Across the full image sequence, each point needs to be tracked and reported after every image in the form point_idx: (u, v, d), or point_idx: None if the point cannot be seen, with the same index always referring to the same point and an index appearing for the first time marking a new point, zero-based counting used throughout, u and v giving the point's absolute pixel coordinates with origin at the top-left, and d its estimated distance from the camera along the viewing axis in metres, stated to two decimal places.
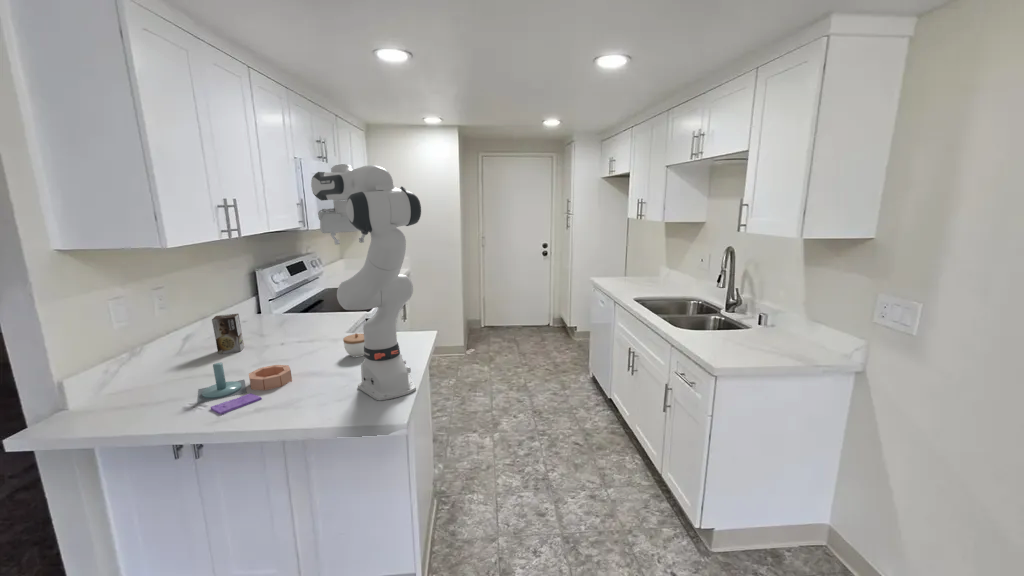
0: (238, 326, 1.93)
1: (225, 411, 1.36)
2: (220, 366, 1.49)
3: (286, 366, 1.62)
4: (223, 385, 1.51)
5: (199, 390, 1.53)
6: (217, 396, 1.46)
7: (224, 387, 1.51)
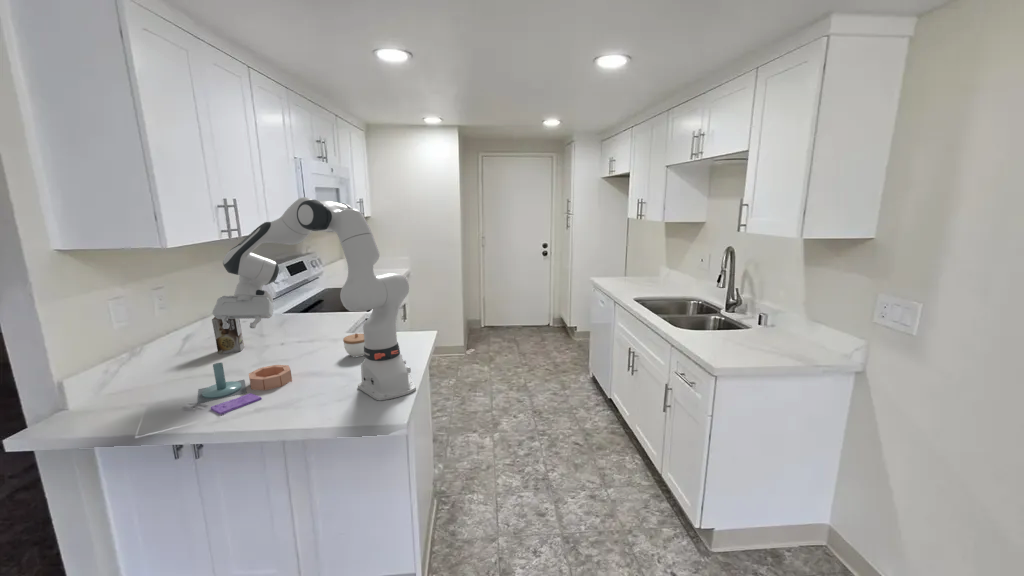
0: (238, 326, 1.93)
1: (225, 411, 1.36)
2: (220, 366, 1.49)
3: (286, 366, 1.62)
4: (223, 385, 1.51)
5: (199, 390, 1.53)
6: (217, 396, 1.46)
7: (224, 387, 1.51)
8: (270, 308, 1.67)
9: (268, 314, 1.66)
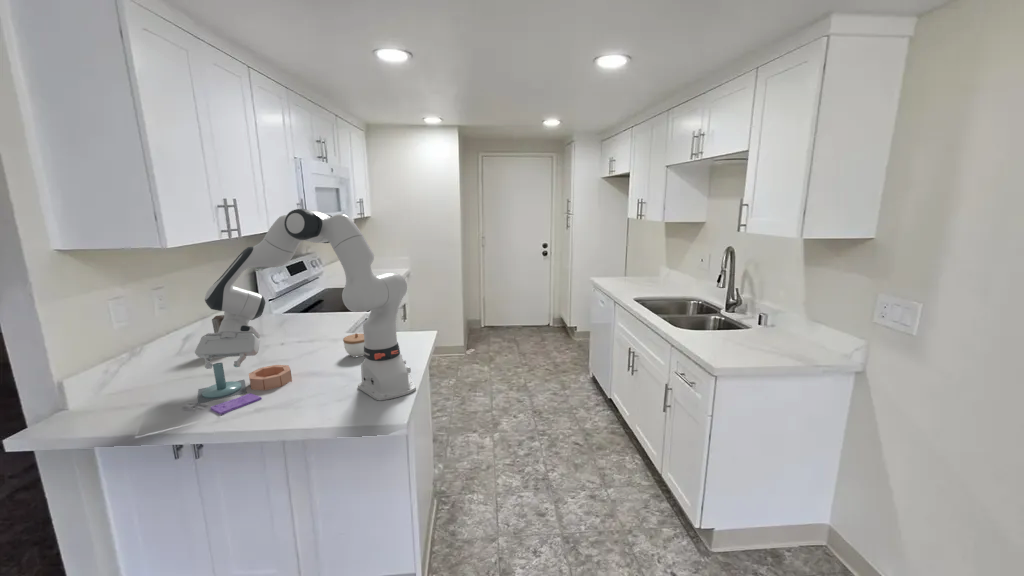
0: None
1: (225, 411, 1.36)
2: (220, 366, 1.49)
3: (286, 366, 1.62)
4: (223, 385, 1.51)
5: (199, 390, 1.53)
6: (217, 396, 1.46)
7: (224, 387, 1.51)
8: (256, 345, 1.57)
9: (253, 351, 1.56)
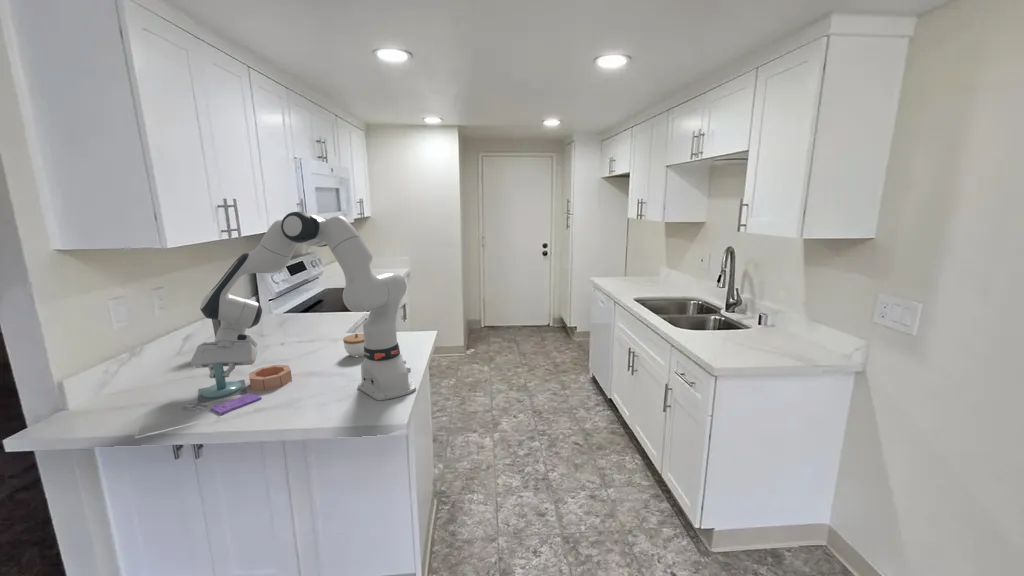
0: None
1: (225, 411, 1.36)
2: (220, 366, 1.49)
3: (286, 366, 1.62)
4: (223, 385, 1.51)
5: (199, 390, 1.53)
6: (217, 396, 1.46)
7: (224, 387, 1.51)
8: (253, 354, 1.55)
9: (250, 361, 1.53)
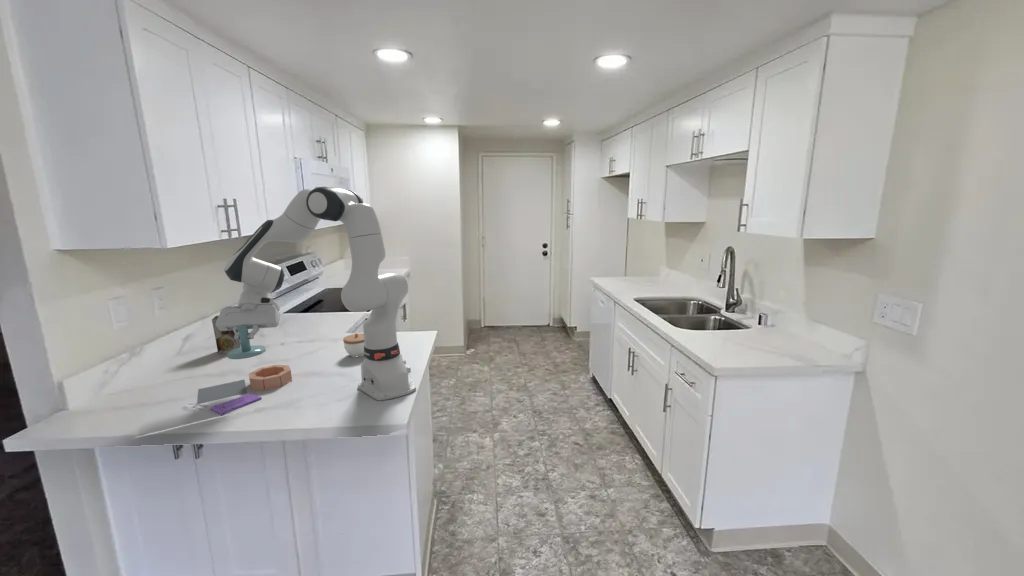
0: None
1: (225, 411, 1.36)
2: (245, 328, 1.50)
3: (286, 366, 1.62)
4: (248, 347, 1.51)
5: (199, 390, 1.53)
6: (243, 357, 1.47)
7: (249, 349, 1.52)
8: (277, 316, 1.56)
9: (274, 323, 1.54)
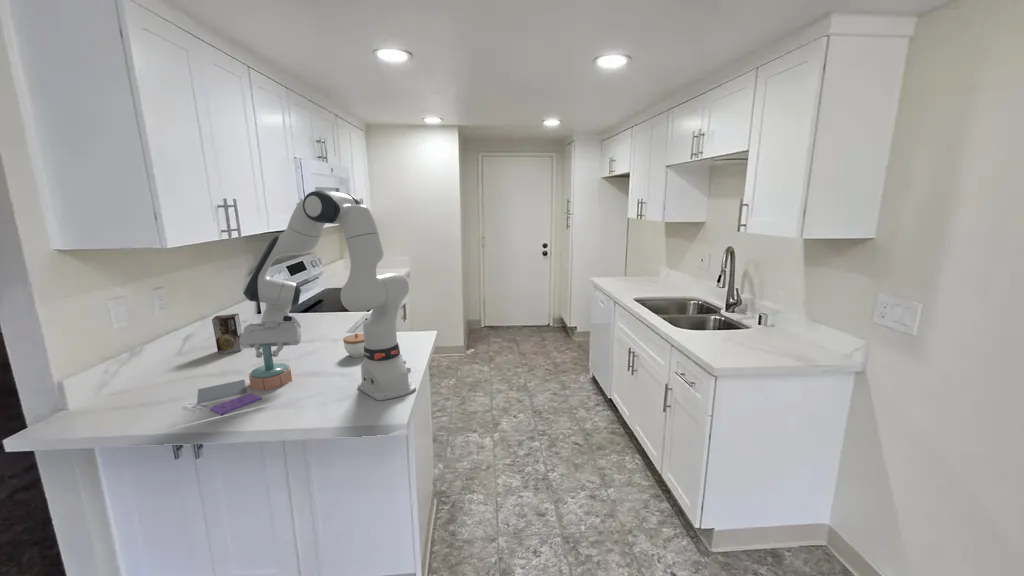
0: (238, 326, 1.93)
1: (225, 411, 1.36)
2: (269, 347, 1.55)
3: None
4: (271, 366, 1.56)
5: (199, 390, 1.53)
6: (267, 376, 1.52)
7: (272, 368, 1.57)
8: (298, 334, 1.60)
9: (296, 341, 1.59)
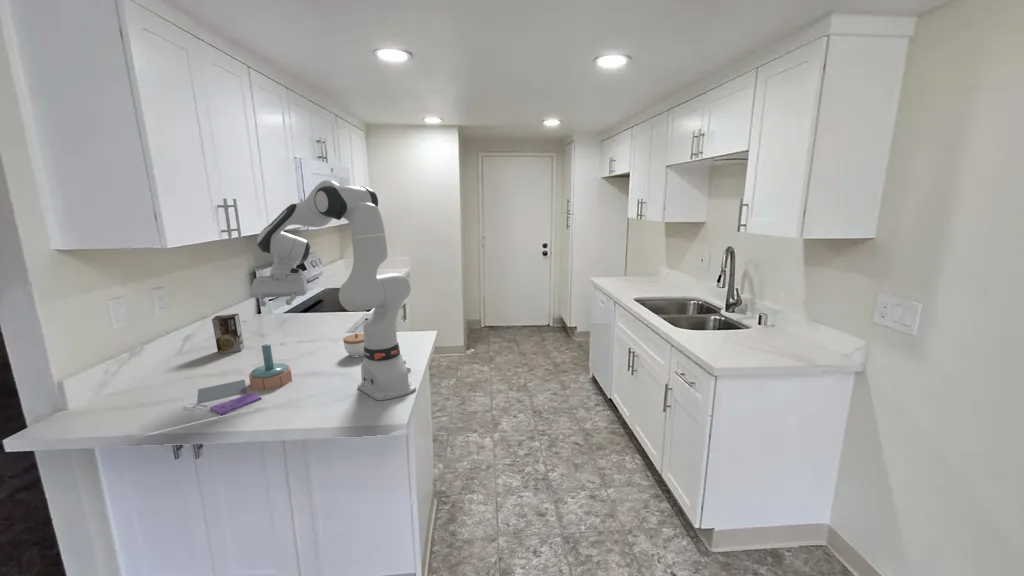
0: (238, 326, 1.93)
1: (226, 411, 1.36)
2: (269, 347, 1.55)
3: None
4: (271, 366, 1.56)
5: (199, 390, 1.53)
6: (267, 376, 1.52)
7: (272, 368, 1.57)
8: (305, 285, 1.70)
9: (303, 291, 1.68)
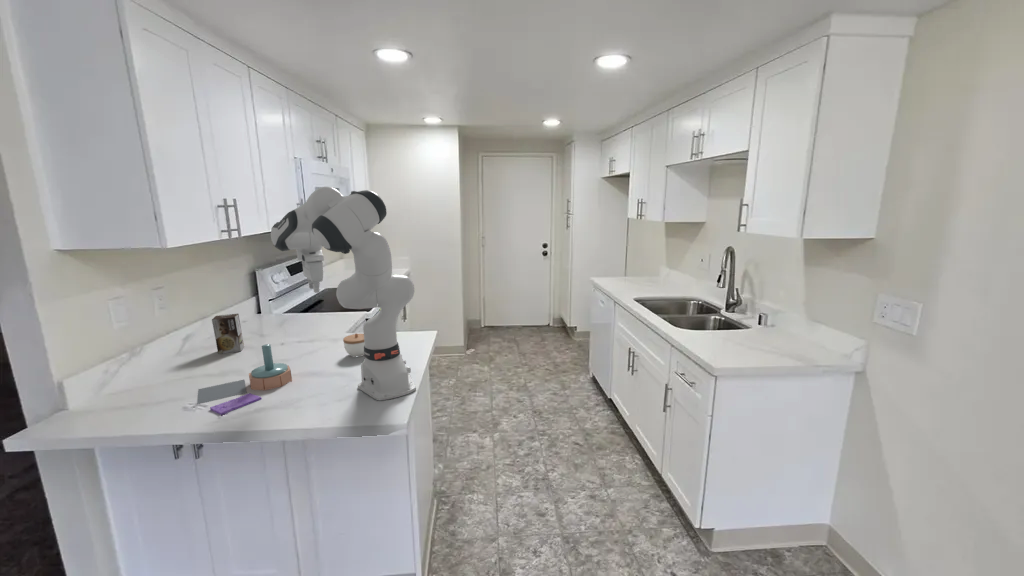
0: (238, 326, 1.93)
1: (226, 411, 1.36)
2: (269, 347, 1.55)
3: None
4: (271, 366, 1.56)
5: (199, 390, 1.53)
6: (267, 376, 1.52)
7: (272, 368, 1.57)
8: (315, 273, 1.57)
9: (315, 281, 1.58)
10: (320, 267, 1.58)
